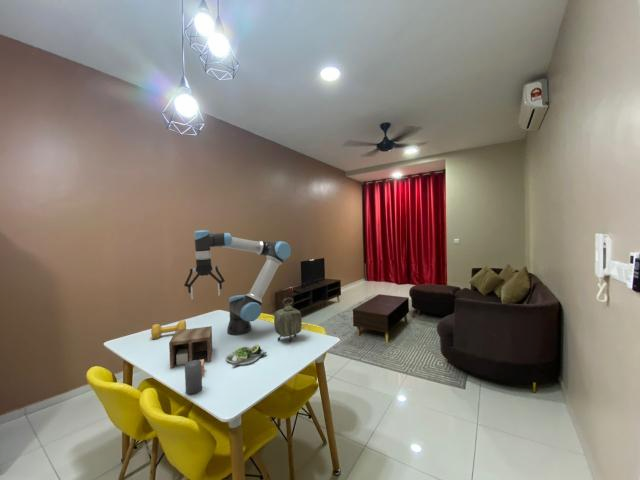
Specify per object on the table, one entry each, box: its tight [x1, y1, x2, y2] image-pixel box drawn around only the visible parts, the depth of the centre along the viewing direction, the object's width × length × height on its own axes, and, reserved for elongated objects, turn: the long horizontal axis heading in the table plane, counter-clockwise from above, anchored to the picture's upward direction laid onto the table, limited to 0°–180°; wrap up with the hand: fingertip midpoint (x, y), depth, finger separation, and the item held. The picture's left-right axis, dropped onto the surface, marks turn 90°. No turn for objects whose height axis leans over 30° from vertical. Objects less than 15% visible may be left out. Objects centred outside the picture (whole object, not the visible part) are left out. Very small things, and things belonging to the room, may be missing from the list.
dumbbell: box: [150, 319, 187, 340], centre depth 163 cm, size 19×9×8 cm, turn 115°
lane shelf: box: [168, 326, 213, 369], centre depth 133 cm, size 18×16×12 cm
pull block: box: [184, 358, 205, 396], centre depth 111 cm, size 6×19×11 cm, turn 19°
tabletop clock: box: [273, 297, 303, 342], centre depth 152 cm, size 14×9×25 cm, turn 122°
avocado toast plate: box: [225, 344, 267, 367], centre depth 131 cm, size 19×18×5 cm
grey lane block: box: [175, 348, 189, 366], centre depth 129 cm, size 5×6×5 cm
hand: (206, 296), depth 142 cm, fingers open, 13 cm apart
